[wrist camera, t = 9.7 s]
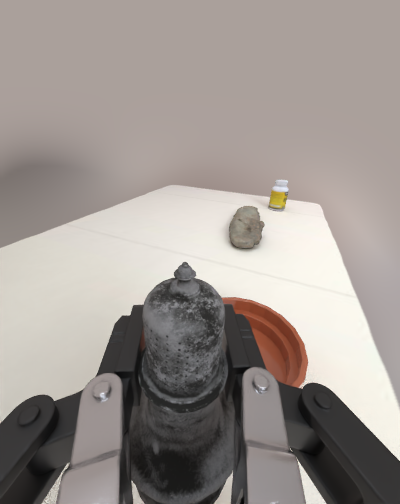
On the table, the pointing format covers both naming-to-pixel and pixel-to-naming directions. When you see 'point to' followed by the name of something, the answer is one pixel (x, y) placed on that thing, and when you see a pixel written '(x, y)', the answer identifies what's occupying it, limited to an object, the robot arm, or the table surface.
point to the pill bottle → (279, 195)
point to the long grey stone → (246, 227)
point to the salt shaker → (182, 396)
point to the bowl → (275, 341)
